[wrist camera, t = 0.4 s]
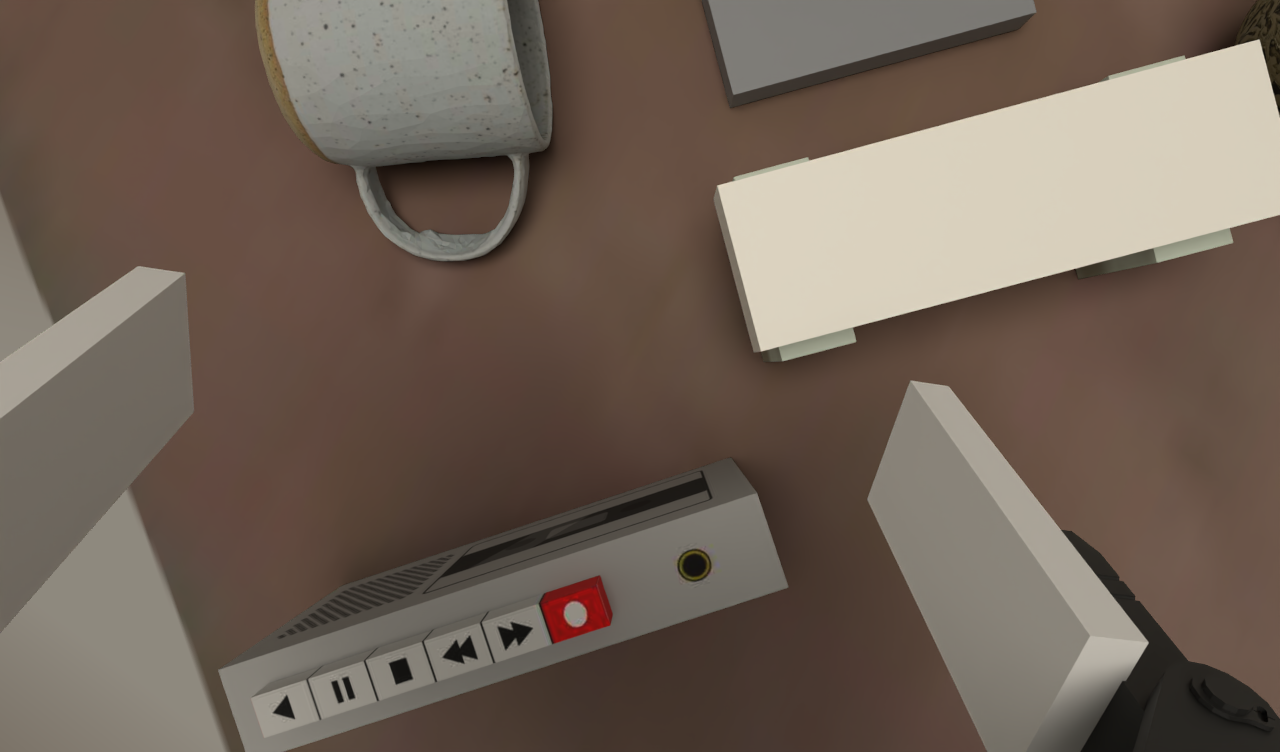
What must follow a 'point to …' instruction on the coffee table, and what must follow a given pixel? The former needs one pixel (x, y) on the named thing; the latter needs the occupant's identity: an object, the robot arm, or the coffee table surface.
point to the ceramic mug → (412, 93)
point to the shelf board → (1004, 197)
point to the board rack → (1083, 272)
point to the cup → (1265, 38)
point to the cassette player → (506, 607)
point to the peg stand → (840, 37)
